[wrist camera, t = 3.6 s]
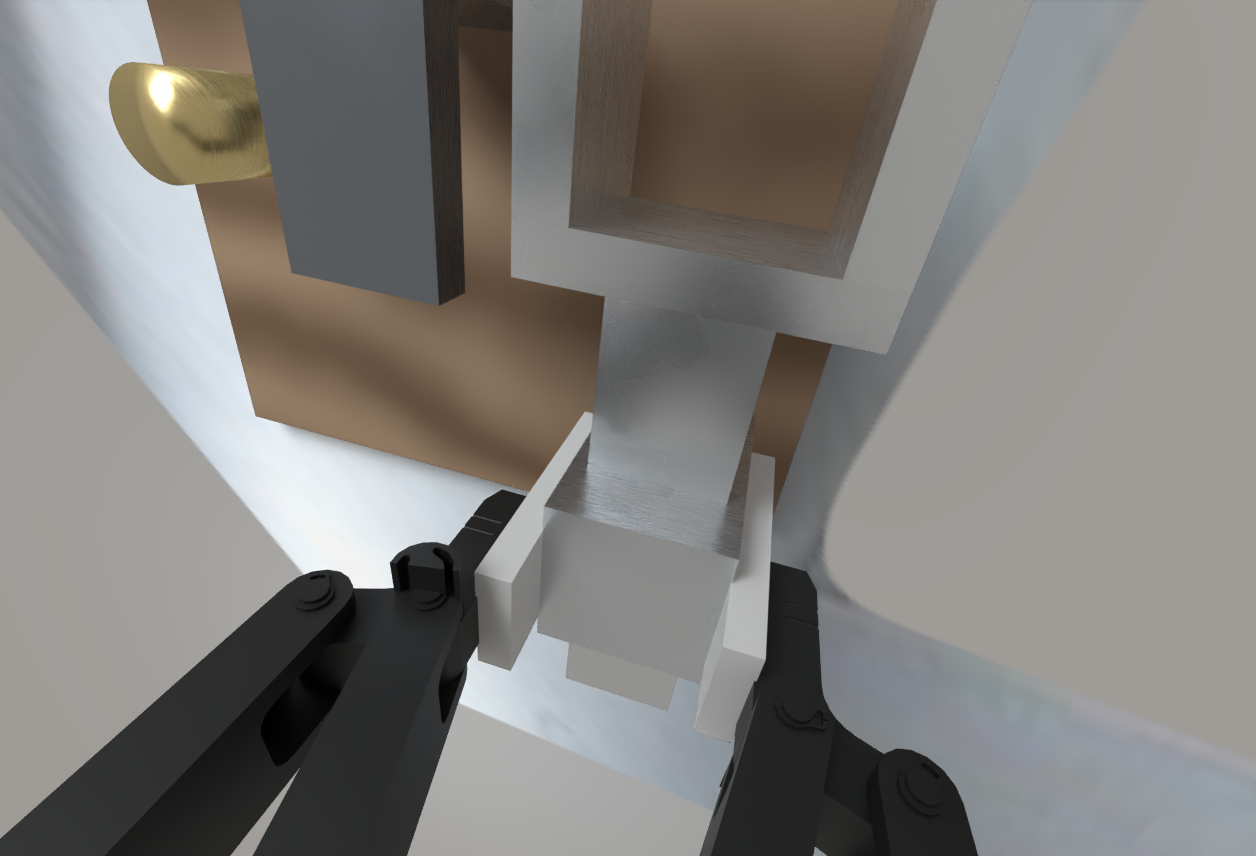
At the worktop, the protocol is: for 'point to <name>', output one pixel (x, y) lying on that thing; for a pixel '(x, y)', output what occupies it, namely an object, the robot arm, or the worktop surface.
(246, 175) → the brass rounded cylinder
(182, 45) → the board
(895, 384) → the worktop surface
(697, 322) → the link
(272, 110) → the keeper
